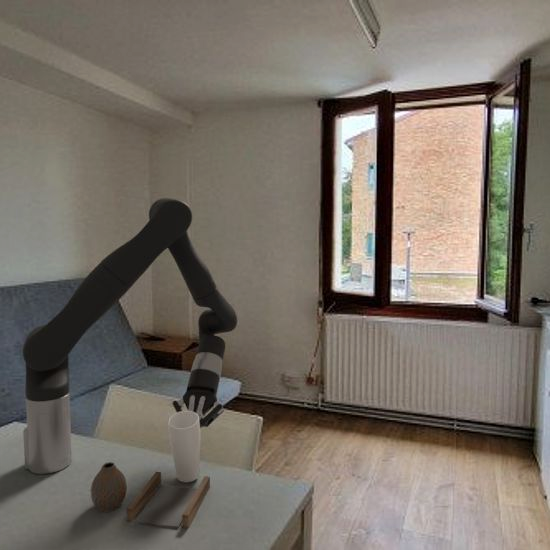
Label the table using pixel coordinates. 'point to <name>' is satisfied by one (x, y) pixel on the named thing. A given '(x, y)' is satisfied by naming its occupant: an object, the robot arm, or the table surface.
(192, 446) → the white cup
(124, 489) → the vase
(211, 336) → the robot arm
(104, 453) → the table surface
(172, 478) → the table surface
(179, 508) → the cradle
